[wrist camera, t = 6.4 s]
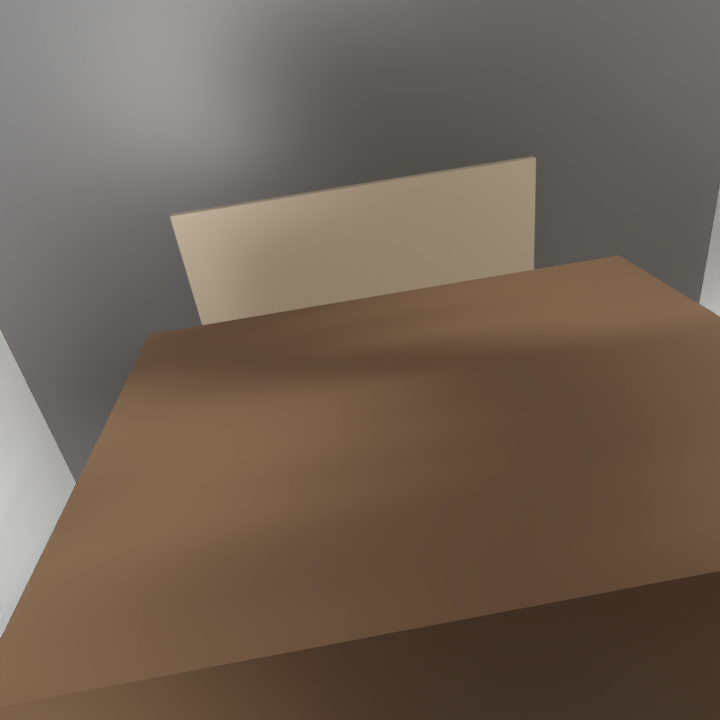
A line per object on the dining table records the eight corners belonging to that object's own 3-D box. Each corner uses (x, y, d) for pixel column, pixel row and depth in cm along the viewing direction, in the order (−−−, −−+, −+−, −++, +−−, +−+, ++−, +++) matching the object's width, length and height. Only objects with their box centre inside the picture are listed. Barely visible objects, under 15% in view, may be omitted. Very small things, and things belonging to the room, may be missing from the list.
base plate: (155, 581, 18) (144, 627, 17) (-108, 5, 11) (-172, -2, 9) (633, 494, 19) (662, 532, 17) (718, -116, 11) (784, -141, 10)
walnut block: (256, 638, 11) (234, 1037, 6) (149, 333, 8) (-35, 714, 3) (588, 575, 11) (788, 920, 7) (619, 254, 8) (1037, 510, 3)
